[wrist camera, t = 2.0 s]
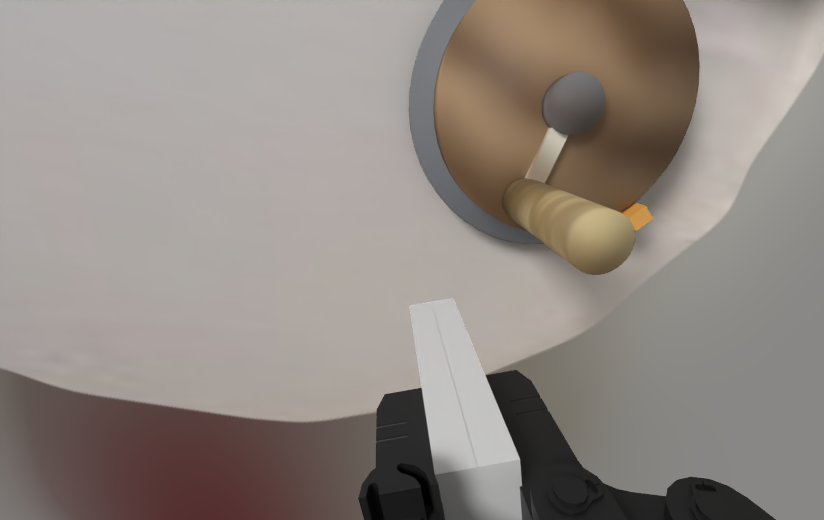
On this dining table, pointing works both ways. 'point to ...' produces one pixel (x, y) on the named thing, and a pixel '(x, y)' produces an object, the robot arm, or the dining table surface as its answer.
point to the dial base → (426, 141)
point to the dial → (566, 114)
